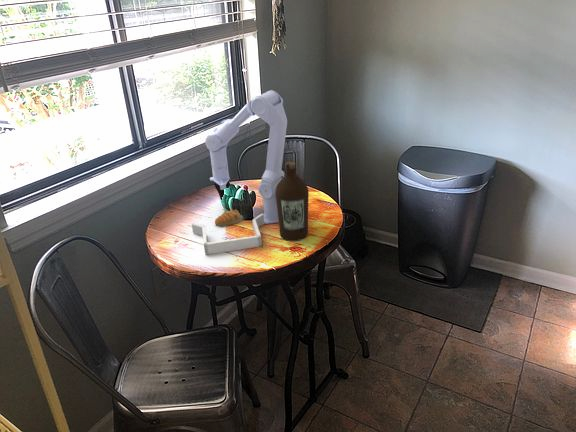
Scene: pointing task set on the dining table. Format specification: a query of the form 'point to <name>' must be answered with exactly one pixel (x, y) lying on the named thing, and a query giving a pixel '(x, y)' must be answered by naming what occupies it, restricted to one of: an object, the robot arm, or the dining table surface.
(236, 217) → the pastry
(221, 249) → the box
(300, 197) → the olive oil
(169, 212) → the dining table surface
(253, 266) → the dining table surface
